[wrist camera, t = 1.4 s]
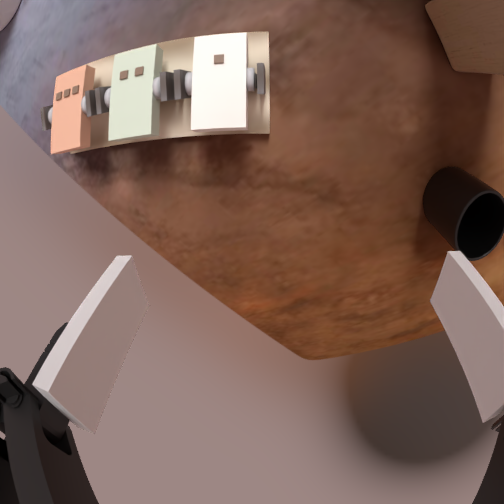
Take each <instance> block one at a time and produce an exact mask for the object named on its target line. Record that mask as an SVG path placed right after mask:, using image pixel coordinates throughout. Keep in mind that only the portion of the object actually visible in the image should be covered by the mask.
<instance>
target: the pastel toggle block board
mask: <svg viewBox="0 0 504 504" xmlns="http://www.w3.org/2000/svg"><path fill="white" fill-rule="evenodd" d="M241 33H247V37H248V68H254V70H255V91H248V130H235V131H211V132H195V131H192V130H191V97H192V95H188V94H187V92H186V89H185V76H186V73H188V72H193V53H194V38H195V37H190V38H184V39H178V40H172V41H167V42H162V43H157V45H158V46H159V47H160V48H161V49H162V50H163V61H162V72H160V91H161V99H160V117H159V136H154V137H146V138H139V139H132V140H125V141H119V142H116V141H108V138H109V108H108V107H107V106H106V104H105V100H104V95H105V92H106V90H107V89H108V88H111V82H112V72H113V64H114V56H115V55H116V54H115V55H112V56H109V57H105V58H102V59H100V60H97V61H94V62H91V63H88V64H86V65H88V66H91V67H93V68H95V77H94V86H93V90H88V91H85V99H86V110H87V117H90V116H91V135H90V147H87V148H83V149H78V150H74V151H70V152H71V154H73V153H77V152H82V151H87V150H92V149H97V148H102V147H108V146H114V145H120V144H126V143H133V142H140V141H148V140H156V139H165V138H175V137H186V136H200V135H219V134H270V82H269V32H241ZM225 34H229V33H225ZM214 35H217V34H214ZM205 36H208V35H205ZM197 37H200V36H197ZM153 45H154V44H153ZM148 46H150V45H148ZM144 47H145V46H144ZM140 48H141V47H140ZM136 49H137V48H136ZM132 50H133V49H132ZM129 51H130V50H129ZM125 52H126V51H125ZM122 53H123V52H122ZM118 54H119V53H118ZM83 66H84V65H83ZM80 67H81V66H80ZM78 68H79V67H78ZM75 69H76V68H75ZM73 70H74V69H73ZM68 72H69V71H68ZM52 107H53V105H51V106H47V107H43V108H41V119H42V127H43V131H45V130H48V129H51V128H52V124H51V123H50V122H49V120H48V112H49V110H50V109H51V108H52Z"/></svg>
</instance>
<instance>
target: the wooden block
mask: <svg viewBox="0 0 504 504" xmlns="http://www.w3.org/2000/svg"><path fill="white" fill-rule="evenodd" d="M425 9H426V11H427V13H428V15H429V17H430V19H431V21H432V23H433V25H434V27H435V29H436V31H437V33H438V35H439V38H440V40H441V42H442V44H443V47H444V49H445V52H446V54H447V57H448V59H449V62H450V64H451V66H452V68H453V69H454V70H456V71H459V72H473V73H488V74H498V75H504V0H433V1H430V2H428V3H427V4H426V5H425Z"/></svg>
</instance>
